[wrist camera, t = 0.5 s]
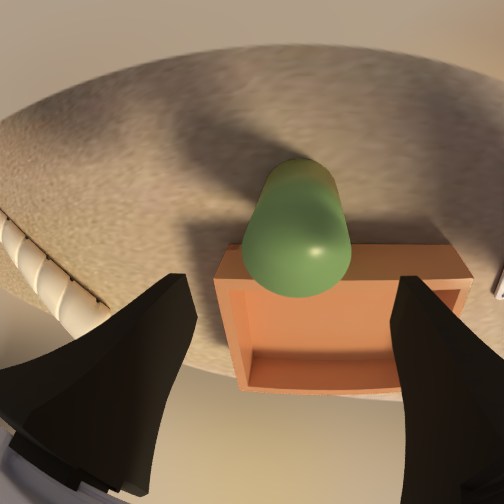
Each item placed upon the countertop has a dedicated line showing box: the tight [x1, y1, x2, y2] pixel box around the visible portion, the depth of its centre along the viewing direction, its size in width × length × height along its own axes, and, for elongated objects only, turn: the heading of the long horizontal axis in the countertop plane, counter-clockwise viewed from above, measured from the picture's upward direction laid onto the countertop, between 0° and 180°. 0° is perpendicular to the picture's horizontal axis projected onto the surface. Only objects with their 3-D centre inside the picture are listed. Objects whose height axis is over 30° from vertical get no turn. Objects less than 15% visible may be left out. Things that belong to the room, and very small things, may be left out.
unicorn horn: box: [0, 210, 111, 340], centre depth 23 cm, size 5×24×5 cm, turn 46°
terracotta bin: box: [213, 244, 474, 395], centre depth 20 cm, size 16×12×4 cm
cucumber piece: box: [242, 159, 351, 298], centre depth 15 cm, size 4×4×7 cm
